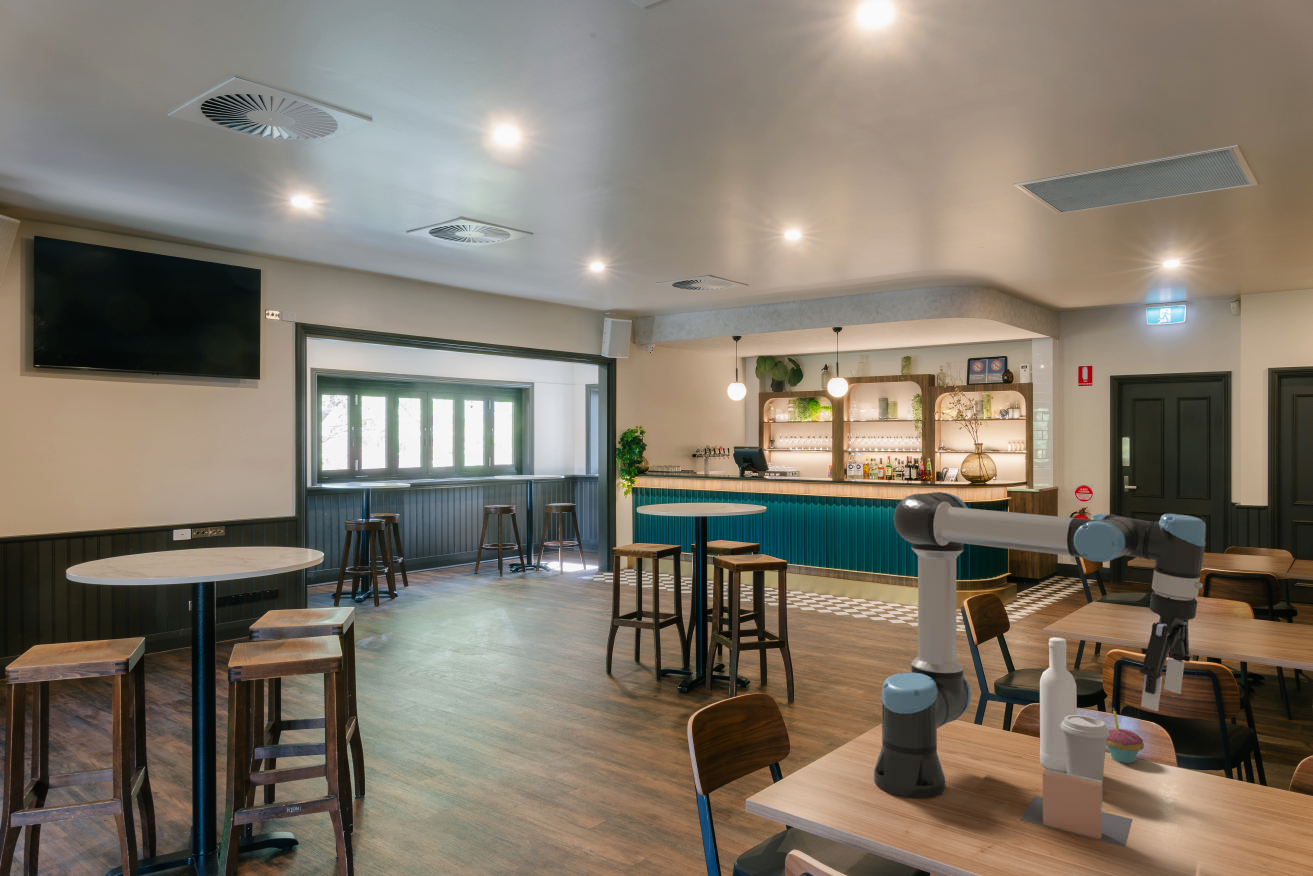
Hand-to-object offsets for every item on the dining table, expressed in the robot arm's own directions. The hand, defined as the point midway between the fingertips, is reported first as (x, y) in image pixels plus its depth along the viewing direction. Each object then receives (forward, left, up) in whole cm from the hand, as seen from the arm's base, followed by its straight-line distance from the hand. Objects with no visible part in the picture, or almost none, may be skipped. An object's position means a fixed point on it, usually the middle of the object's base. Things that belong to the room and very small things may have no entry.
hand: (1161, 699), depth 155 cm
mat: (-14, -6, -26) cm, 30 cm away
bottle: (-22, +24, -26) cm, 42 cm away
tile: (-14, -11, -25) cm, 31 cm away
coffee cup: (-15, +13, -26) cm, 33 cm away
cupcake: (-10, +38, -26) cm, 47 cm away
